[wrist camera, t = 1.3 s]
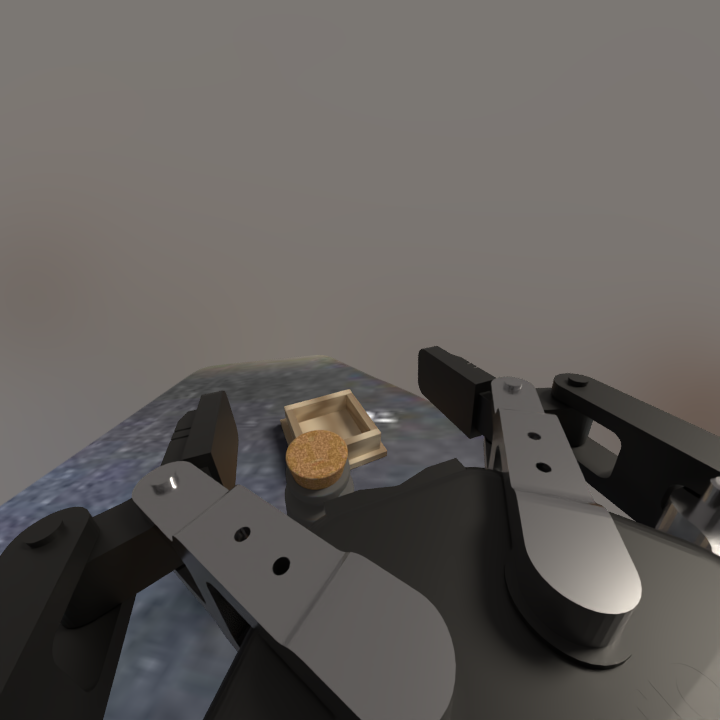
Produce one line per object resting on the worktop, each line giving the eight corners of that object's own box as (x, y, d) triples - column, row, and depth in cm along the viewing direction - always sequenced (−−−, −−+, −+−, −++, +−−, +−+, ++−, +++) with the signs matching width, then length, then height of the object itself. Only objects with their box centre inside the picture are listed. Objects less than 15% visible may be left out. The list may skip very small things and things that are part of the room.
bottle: (350, 520, 33) (352, 422, 25) (355, 581, 28) (358, 482, 20) (297, 525, 32) (282, 426, 24) (293, 587, 27) (271, 488, 20)
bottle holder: (302, 487, 36) (300, 466, 34) (281, 424, 45) (277, 404, 43) (386, 455, 41) (388, 435, 39) (351, 404, 50) (351, 385, 48)
